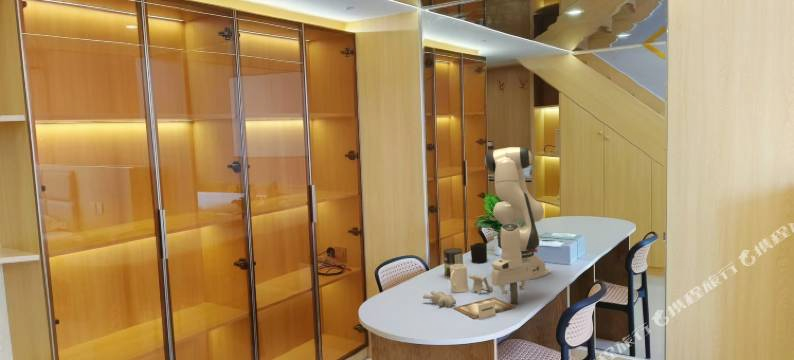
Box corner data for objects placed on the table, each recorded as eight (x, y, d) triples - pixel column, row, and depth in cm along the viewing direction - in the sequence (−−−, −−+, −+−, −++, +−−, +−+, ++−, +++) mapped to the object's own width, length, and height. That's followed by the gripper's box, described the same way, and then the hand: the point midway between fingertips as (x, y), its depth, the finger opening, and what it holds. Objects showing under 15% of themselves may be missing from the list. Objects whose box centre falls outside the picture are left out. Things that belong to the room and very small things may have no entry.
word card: (494, 314, 230) (493, 300, 229) (495, 314, 229) (494, 301, 229) (478, 318, 227) (478, 304, 226) (479, 319, 226) (478, 305, 225)
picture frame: (494, 298, 250) (494, 295, 250) (516, 307, 236) (516, 304, 236) (453, 308, 241) (453, 305, 241) (474, 319, 226) (473, 316, 226)
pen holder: (489, 263, 310) (488, 246, 309) (472, 264, 310) (471, 247, 309) (486, 259, 319) (485, 242, 318) (470, 260, 319) (469, 243, 318)
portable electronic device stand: (493, 291, 261) (492, 274, 260) (482, 295, 256) (481, 278, 255) (478, 287, 267) (477, 271, 266) (468, 292, 262) (467, 275, 261)
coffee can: (446, 279, 285) (444, 253, 283) (443, 274, 295) (442, 248, 293) (465, 277, 285) (464, 251, 283) (462, 272, 295) (460, 247, 294)
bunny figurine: (446, 301, 239) (421, 292, 249) (446, 312, 240) (420, 302, 250) (459, 295, 246) (434, 286, 256) (459, 306, 247) (434, 296, 257)
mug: (457, 295, 258) (455, 271, 257) (443, 292, 264) (441, 268, 262) (472, 288, 266) (470, 264, 265) (458, 286, 272) (456, 262, 271)
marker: (515, 301, 244) (513, 276, 243) (520, 303, 241) (518, 278, 240) (509, 303, 242) (507, 277, 241) (513, 305, 239) (512, 279, 238)
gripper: (525, 256, 247) (527, 285, 248) (488, 263, 238) (490, 294, 239) (535, 258, 241) (536, 289, 242) (497, 266, 232) (499, 298, 234)
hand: (513, 292), depth 241 cm, fingers open, 8 cm apart
